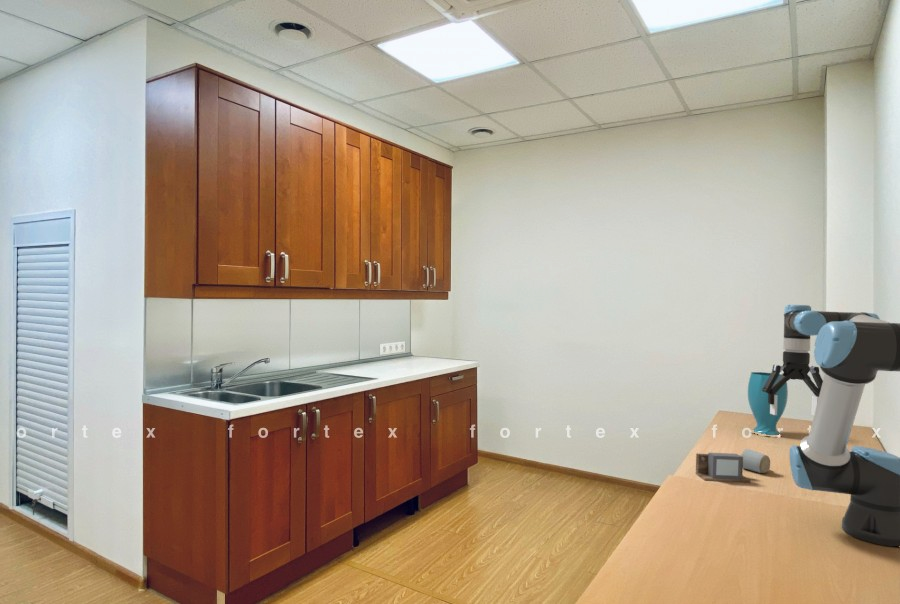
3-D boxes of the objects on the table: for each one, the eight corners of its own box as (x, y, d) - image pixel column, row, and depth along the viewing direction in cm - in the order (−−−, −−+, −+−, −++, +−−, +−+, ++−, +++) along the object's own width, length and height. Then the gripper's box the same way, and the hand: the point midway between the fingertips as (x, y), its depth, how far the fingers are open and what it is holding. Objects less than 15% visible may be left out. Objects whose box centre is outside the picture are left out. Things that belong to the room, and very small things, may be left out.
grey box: (741, 479, 192) (741, 456, 192) (712, 478, 192) (713, 455, 192) (735, 475, 196) (736, 453, 196) (707, 474, 197) (708, 452, 197)
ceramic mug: (761, 475, 200) (762, 454, 200) (739, 469, 207) (740, 449, 207) (775, 472, 206) (776, 452, 206) (753, 466, 213) (754, 446, 213)
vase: (738, 430, 275) (740, 372, 275) (764, 429, 281) (766, 371, 281) (767, 439, 259) (769, 376, 259) (794, 437, 264) (796, 376, 264)
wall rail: (750, 482, 192) (750, 461, 192) (704, 480, 192) (705, 459, 192) (739, 475, 199) (740, 455, 199) (695, 473, 200) (696, 453, 200)
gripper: (827, 351, 182) (825, 414, 182) (752, 348, 183) (750, 411, 183) (842, 353, 175) (840, 419, 175) (764, 350, 176) (762, 416, 176)
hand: (794, 415), depth 179 cm, fingers open, 13 cm apart
